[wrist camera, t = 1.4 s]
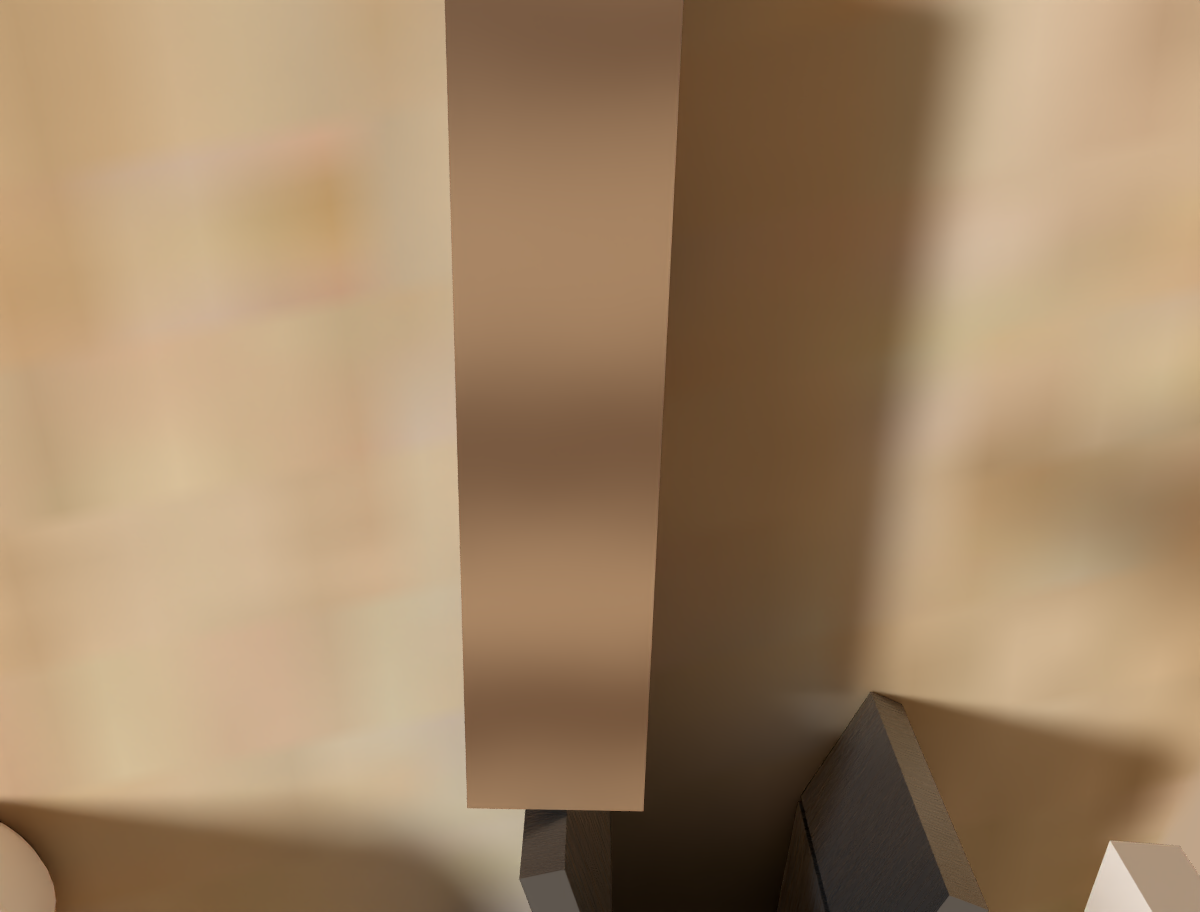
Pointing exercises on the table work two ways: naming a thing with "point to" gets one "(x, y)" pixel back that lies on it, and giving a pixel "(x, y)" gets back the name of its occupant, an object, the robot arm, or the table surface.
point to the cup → (23, 876)
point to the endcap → (803, 836)
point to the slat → (560, 384)
